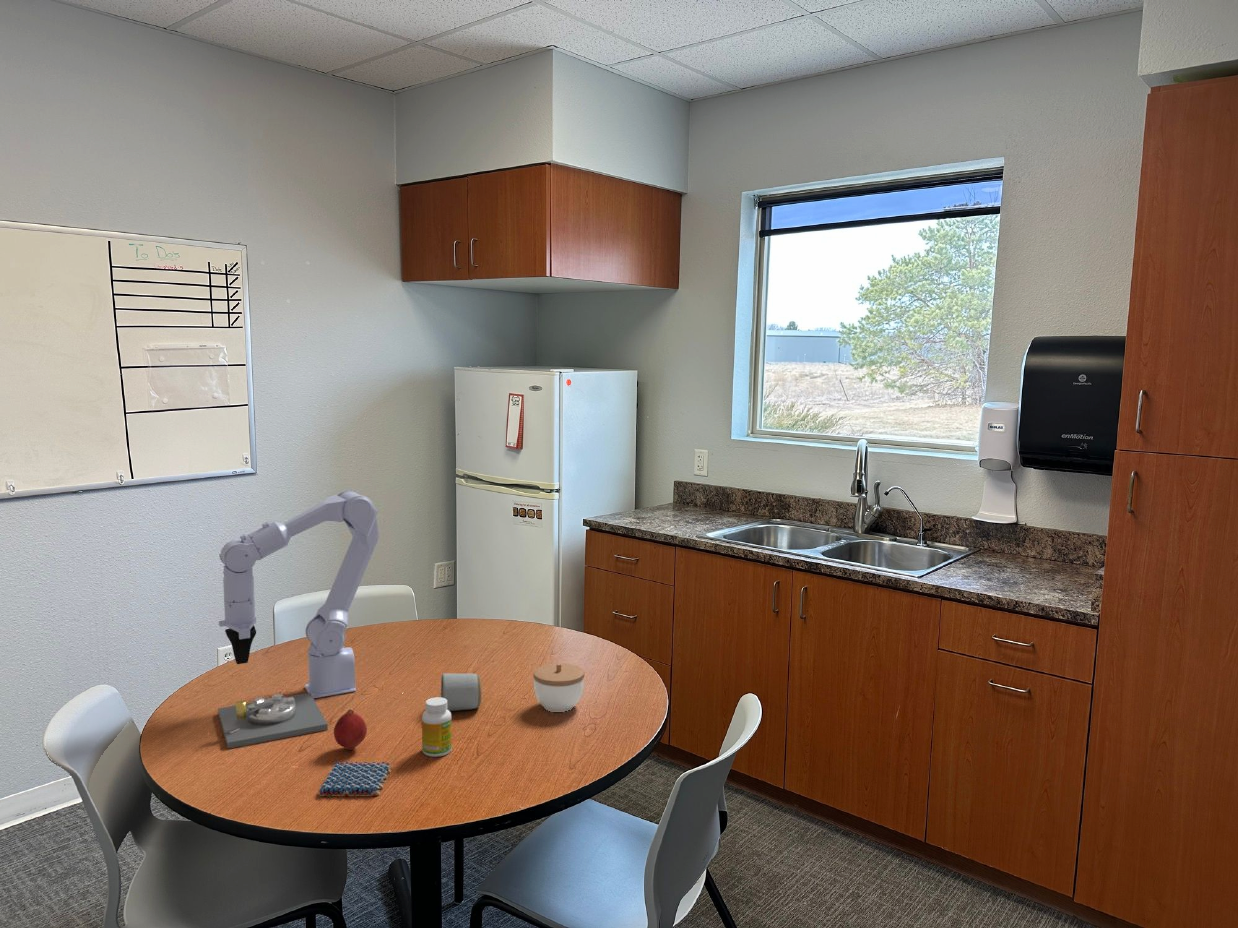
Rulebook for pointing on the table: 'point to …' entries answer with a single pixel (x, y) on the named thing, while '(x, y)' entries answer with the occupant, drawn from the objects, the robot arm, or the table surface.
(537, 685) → the lidded jar
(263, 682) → the table surface
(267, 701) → the lathe jaw chuck
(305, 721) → the base plate
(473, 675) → the ceramic mug
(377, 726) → the table surface
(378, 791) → the woven mat
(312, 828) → the table surface
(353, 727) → the onion
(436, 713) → the supplement bottle
